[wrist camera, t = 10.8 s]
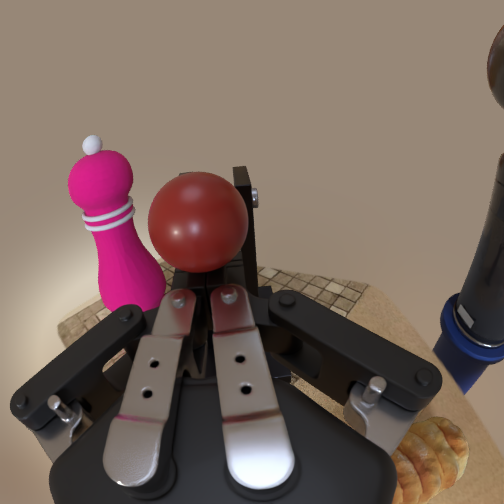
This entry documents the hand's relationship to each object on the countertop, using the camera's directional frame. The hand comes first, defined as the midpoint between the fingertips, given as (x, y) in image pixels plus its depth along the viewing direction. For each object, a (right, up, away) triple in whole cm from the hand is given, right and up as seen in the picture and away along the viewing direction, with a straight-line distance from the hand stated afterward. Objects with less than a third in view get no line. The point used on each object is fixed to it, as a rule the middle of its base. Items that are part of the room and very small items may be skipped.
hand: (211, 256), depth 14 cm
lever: (0, +1, +2) cm, 2 cm away
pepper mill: (-10, -7, +17) cm, 21 cm away
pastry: (+13, -16, 0) cm, 21 cm away
